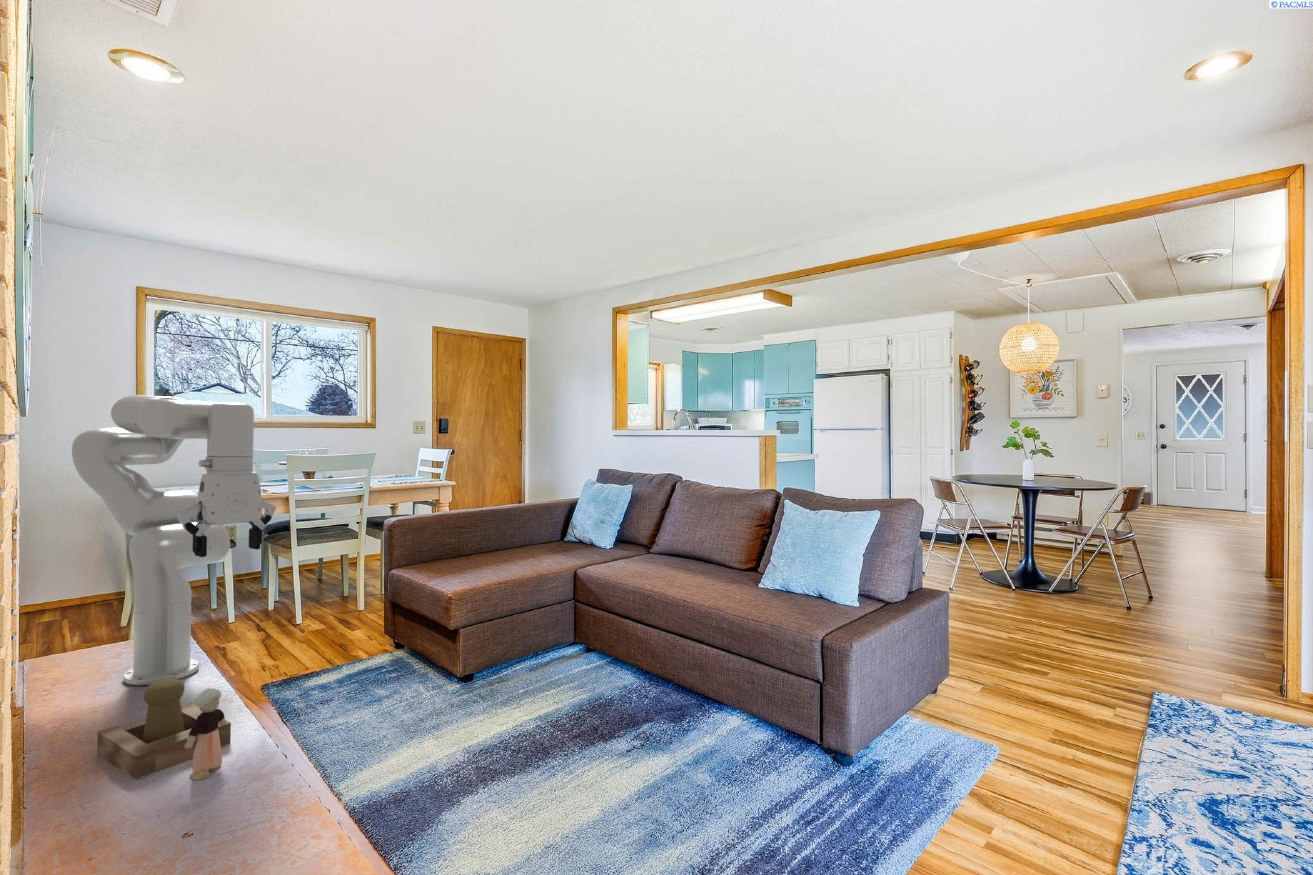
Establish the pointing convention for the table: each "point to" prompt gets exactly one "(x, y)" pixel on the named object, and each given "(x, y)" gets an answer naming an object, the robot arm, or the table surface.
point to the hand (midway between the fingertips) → (228, 552)
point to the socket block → (151, 745)
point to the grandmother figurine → (206, 735)
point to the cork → (163, 710)
